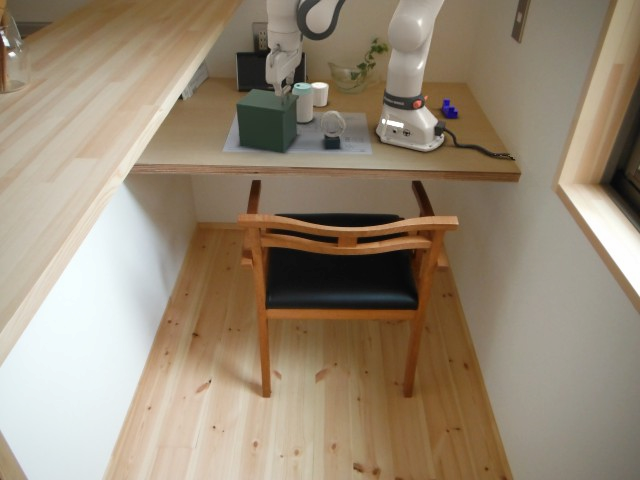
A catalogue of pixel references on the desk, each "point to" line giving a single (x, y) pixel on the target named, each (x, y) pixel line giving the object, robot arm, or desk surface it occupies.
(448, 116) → the cable holder
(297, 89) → the can
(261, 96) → the lid
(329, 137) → the watch
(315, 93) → the white cup
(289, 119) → the trash can
